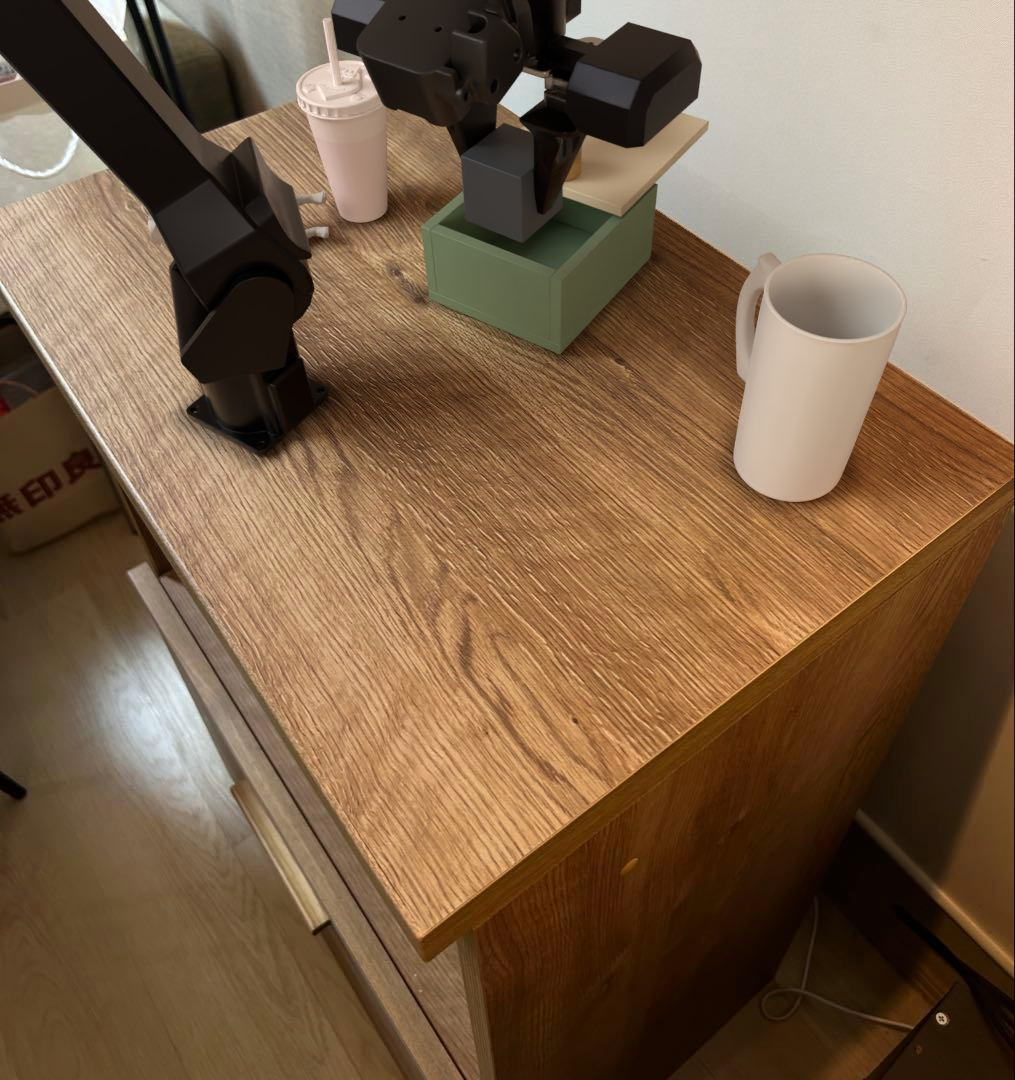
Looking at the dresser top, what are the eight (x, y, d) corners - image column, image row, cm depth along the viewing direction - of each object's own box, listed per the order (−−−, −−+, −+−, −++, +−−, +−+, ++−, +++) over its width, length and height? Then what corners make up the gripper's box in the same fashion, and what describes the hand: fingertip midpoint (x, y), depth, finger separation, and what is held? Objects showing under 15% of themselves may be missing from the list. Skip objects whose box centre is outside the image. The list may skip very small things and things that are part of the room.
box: (428, 299, 67) (420, 226, 62) (525, 211, 73) (524, 139, 68) (560, 355, 63) (561, 281, 59) (650, 257, 69) (658, 183, 65)
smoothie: (305, 223, 73) (262, 31, 62) (345, 177, 76) (311, -13, 65) (382, 240, 71) (352, 46, 60) (419, 193, 75) (397, 1, 64)
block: (464, 220, 55) (459, 155, 52) (506, 186, 57) (503, 122, 54) (522, 244, 54) (520, 178, 51) (563, 208, 56) (563, 143, 53)
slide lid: (483, 168, 66) (481, 123, 63) (577, 90, 72) (578, 46, 69) (621, 217, 62) (624, 171, 59) (708, 130, 68) (714, 85, 65)
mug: (871, 482, 56) (937, 315, 46) (771, 523, 54) (819, 359, 45) (769, 374, 62) (810, 206, 52) (677, 408, 60) (702, 241, 50)
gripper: (217, -100, 42) (292, 216, 55) (580, 4, 35) (572, 340, 47) (384, -178, 48) (418, 126, 60) (728, -102, 40) (686, 225, 53)
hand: (513, 198), depth 55 cm, fingers closed on block, 4 cm apart
